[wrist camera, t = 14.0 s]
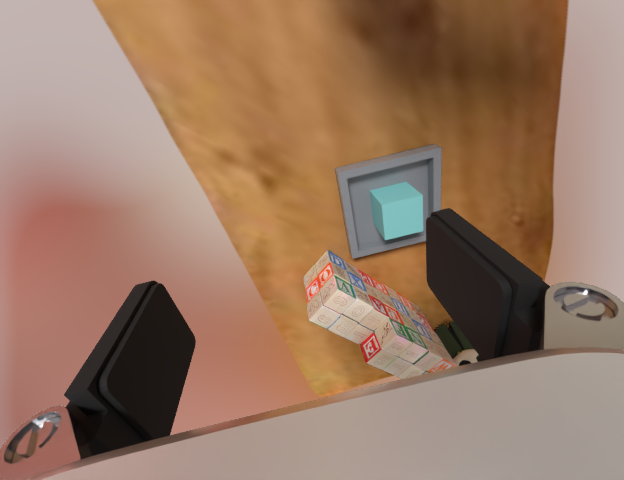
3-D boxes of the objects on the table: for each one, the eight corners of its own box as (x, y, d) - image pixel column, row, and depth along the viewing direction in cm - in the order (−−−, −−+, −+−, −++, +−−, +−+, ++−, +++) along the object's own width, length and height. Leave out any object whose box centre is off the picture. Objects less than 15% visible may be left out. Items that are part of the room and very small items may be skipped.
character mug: (473, 309, 54) (527, 372, 42) (475, 335, 57) (524, 399, 46) (416, 328, 54) (453, 395, 43) (421, 352, 58) (456, 419, 47)
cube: (369, 190, 39) (381, 205, 35) (406, 181, 39) (422, 195, 35) (373, 223, 42) (385, 240, 37) (407, 214, 42) (423, 231, 37)
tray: (334, 168, 38) (337, 172, 36) (433, 143, 37) (441, 147, 36) (349, 251, 44) (352, 258, 42) (433, 230, 44) (440, 237, 42)
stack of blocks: (301, 277, 46) (310, 338, 35) (326, 248, 44) (344, 304, 33) (394, 328, 54) (425, 391, 43) (420, 306, 52) (458, 366, 41)
